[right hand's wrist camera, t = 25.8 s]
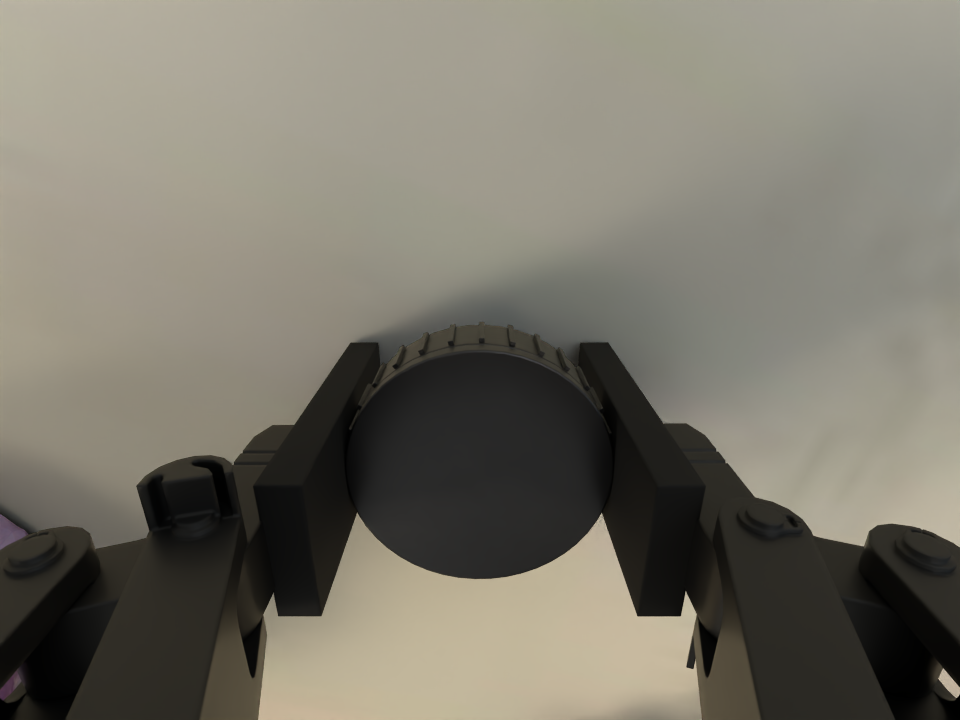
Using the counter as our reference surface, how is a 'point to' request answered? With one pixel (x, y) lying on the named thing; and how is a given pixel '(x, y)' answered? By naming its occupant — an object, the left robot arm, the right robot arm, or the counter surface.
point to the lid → (479, 453)
